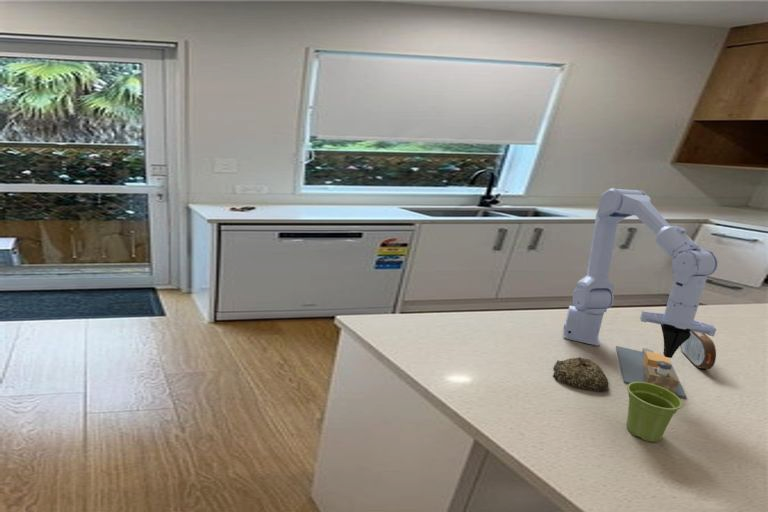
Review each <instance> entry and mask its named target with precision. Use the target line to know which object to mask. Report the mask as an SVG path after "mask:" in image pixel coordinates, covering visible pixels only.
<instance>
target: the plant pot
mask: <svg viewBox="0 0 768 512" xmlns="http://www.w3.org/2000/svg"><path fill="white" fill-rule="evenodd" d="M626 390H627V393H628V398H629V399H628V400H629V401H628V409H627V421H626V429H628V431H629V432H630V433H631V434H632V435H633V436H635V437H639V438H641V439H642V440H644V441H646V442H652V443H653V442H654V443H655V442H659V441H660V440H661V439H662V438H663V436H664V434H665V432H666V430H667V427H669V424H670V422H671V420H672V418H673V416H674V415H675V414H676V413H677V411H678V410H681V408H682V407H683V402H682V399H680V397H677V396H676V395H675V394H674V393H672V392H670V391H669V390H667V389H665V388H662V387H660V386H657V385H654V384H650V383H646V382H632V383H630V384H627V386H626Z"/></svg>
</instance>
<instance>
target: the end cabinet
mask: <svg viewBox="0 0 768 512" xmlns="http://www.w3.org/2000/svg"><path fill="white" fill-rule="evenodd" d="M657 369H658V368H657V367H653V366H649V365H646V368H645V372H644V375H643V380H644V382H646V383H650V384H654V385H657V386H660V387H662V388H665V389H667V390H669V391H670V392H672V393H674V394H675V393H676V390H677V387H678V383H679V381H680V380H678V379H679V377H678V375H677V373H676V371H675V372H674V371H670V370H669V372H668V375H667V377H666V376H661V375H657V374H656V373H657ZM675 373H676V374H675ZM676 375H677V376H676ZM677 377H678V378H677Z"/></svg>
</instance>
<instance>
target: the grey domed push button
mask: <svg viewBox="0 0 768 512" xmlns="http://www.w3.org/2000/svg"><path fill="white" fill-rule="evenodd" d="M671 364H672V363H671ZM671 364H669V363H667V362H664V361H658V364H657V365H658V369H657V373H656V374H657V375H661V376H666V377H667V375H668V372H669V369H671V367H672V366H673V364H672V365H671Z"/></svg>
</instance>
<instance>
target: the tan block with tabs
mask: <svg viewBox="0 0 768 512" xmlns="http://www.w3.org/2000/svg"><path fill="white" fill-rule="evenodd" d="M653 352H654V351H653ZM653 352H649V351H645V354H644V357H643V362H644V364H643V365H644V368H646V365H649V366H653V367H657V368H658V365H657V364H658V361H664V362H667V363H669V364H671V365H672V366H673V364H672V363H671V360H670V358H668V357H665V356H664V354H661V353H657V352H654V353H653ZM669 370H670V369H669Z"/></svg>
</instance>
